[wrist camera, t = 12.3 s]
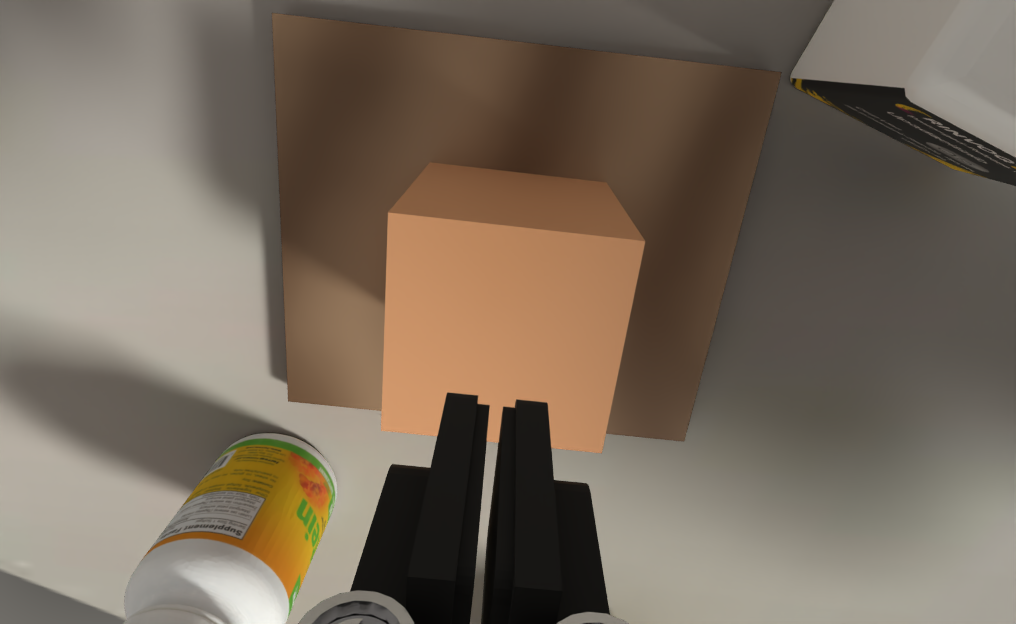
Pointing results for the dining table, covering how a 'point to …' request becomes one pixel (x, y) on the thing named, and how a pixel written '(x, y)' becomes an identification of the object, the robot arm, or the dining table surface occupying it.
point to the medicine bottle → (923, 76)
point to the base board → (516, 148)
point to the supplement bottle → (238, 538)
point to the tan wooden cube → (507, 299)
